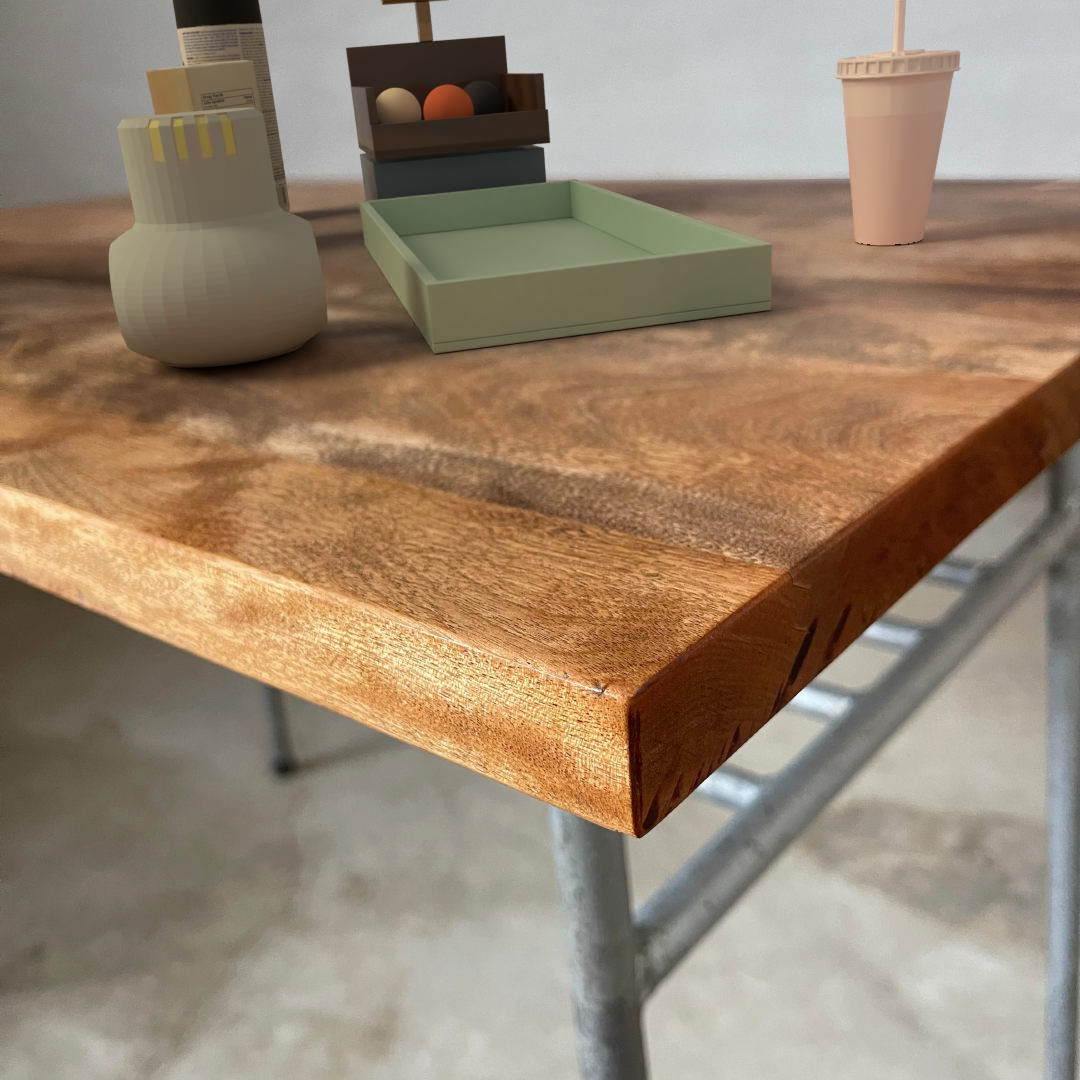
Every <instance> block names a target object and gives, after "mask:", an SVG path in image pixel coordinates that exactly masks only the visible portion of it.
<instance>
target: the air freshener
mask: <svg viewBox="0 0 1080 1080" xmlns="http://www.w3.org/2000/svg"><path fill="white" fill-rule="evenodd" d="M116 130H117V135H118V141H119V145H120V150H121V155H122V160H123V165H124V170H125V175H126V179H127V180H126V181H127V184H128V190H129V194H130V200H131V204H132V209H133V214H134V219H135V221H134V224H133V226H132V227H130V228H129V229H128V230H126V231H125V232H124V233H122V234H121V235H119V236H118V237H117V238H116V239H114V241H112V242H111V243H110V245H109V248H108V249H109V250H108V271H109V281H110V289H111V296H112V300H113V305H114V311H115V314H116V319H117V323H118V327H119V330H120V334H121V335H122V339H123V341H124V343H125V345H126V347H127V349H129V350H130V351H131V352H134V353H136V354H137V355H140V356H143V357H144V358H145V357H146V358H148V359H151V360H153V361H158V362H160V363H163V365H166V366H169V367H174V368H175V367H176V368H210V367H222V366H223V367H224V366H231V365H239V364H244V363H252V362H256V361H257V362H258V361H262V360H267V359H272V358H277V357H279V356H282V355H287V354H289V353H293V352H294V351H297V350H298V349H300V348H301V347H303V346H304V344H305V343H306V342H307V341H309V340H311V339H312V338H313V337H314V336H316V335H317V334H318V333H320V332H321V331H323V329H324V328H326V327H327V325H328V308H327V306H328V305H327V299H326V291H325V284H324V277H323V272H322V265H321V260H320V256H319V251H318V247H317V243H316V238H315V235H314V231H313V228H312V225H311V222H310V221H308V220H307V219H305V218H303V217H301V216H299V215H296V214H294V213H291V212H289V213H288V212H285V211H283V210H282V209H281V207H280V206H279V203H278V197H277V192H276V186H275V180H274V174H273V168H272V162H271V157H270V151H269V145H268V139H267V133H266V127H265V122H264V116H263V114H262V113H261V112H259V111H258V110H257V109H256V108H233V109H219V110H206V111H194V112H182V113H171V114H161V115H155V114H154V115H153V114H151V115H143V116H135V117H127V118H126V117H125V118H122V119H121V121H120V122H119V124H118V125H117V127H116Z"/></svg>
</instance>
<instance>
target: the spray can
mask: <svg viewBox="0 0 1080 1080" xmlns="http://www.w3.org/2000/svg"><path fill="white" fill-rule="evenodd" d="M172 6H173V7H172V8H173V12H174V19H175V24H176V31H177V37H178V43H179V49H180V53H181V60H182V66H186V65H195V64H205V63H215V62H228V61H241V60H249V61H253V63H254V69H255V75H256V81H257V86H258V92H259V97H260V103H261V108H262V114H263V116H264V122H265V127H266V133H267V139H268V145H269V151H270V157H271V162H272V168H273V174H274V180H275V186H276V192H277V197H278V203H279V206H280V207H281V209H282V210H283V211H285V212H288V213H291V212H290V211H291V205H290V204H291V203H290V197H289V191H288V185H287V177H286V170H285V165H284V158H283V151H282V143H281V137H280V130H279V125H278V124H279V123H278V118H277V111H276V105H275V97H274V92H273V86H272V79H271V72H270V65H269V64H270V63H269V58H268V52H267V44H266V38H265V31H264V27H263V19H262V12H261V6H260V0H172Z"/></svg>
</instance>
